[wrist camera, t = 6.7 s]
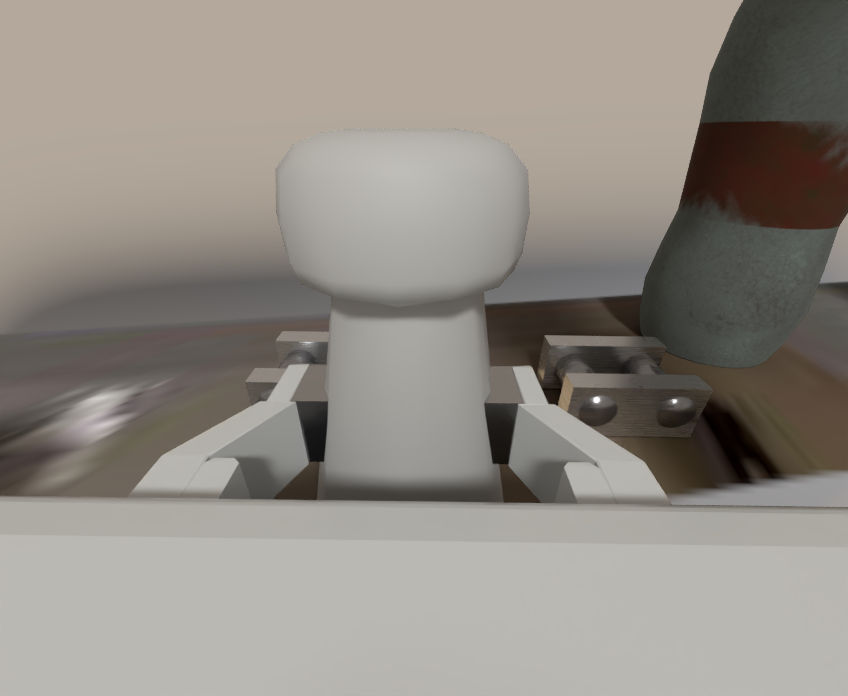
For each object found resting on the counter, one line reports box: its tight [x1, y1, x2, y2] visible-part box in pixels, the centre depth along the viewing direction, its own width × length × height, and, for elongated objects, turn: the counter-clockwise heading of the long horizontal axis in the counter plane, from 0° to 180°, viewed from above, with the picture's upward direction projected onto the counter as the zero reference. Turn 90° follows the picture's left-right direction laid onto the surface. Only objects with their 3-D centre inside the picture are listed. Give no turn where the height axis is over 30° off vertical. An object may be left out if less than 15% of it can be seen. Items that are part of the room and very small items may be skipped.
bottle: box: [640, 0, 848, 368], centre depth 21 cm, size 9×9×30 cm
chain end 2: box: [537, 335, 713, 437], centre depth 21 cm, size 6×5×3 cm
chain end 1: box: [245, 331, 329, 406], centre depth 21 cm, size 6×5×3 cm
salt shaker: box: [276, 129, 529, 503], centre depth 9 cm, size 6×6×13 cm
